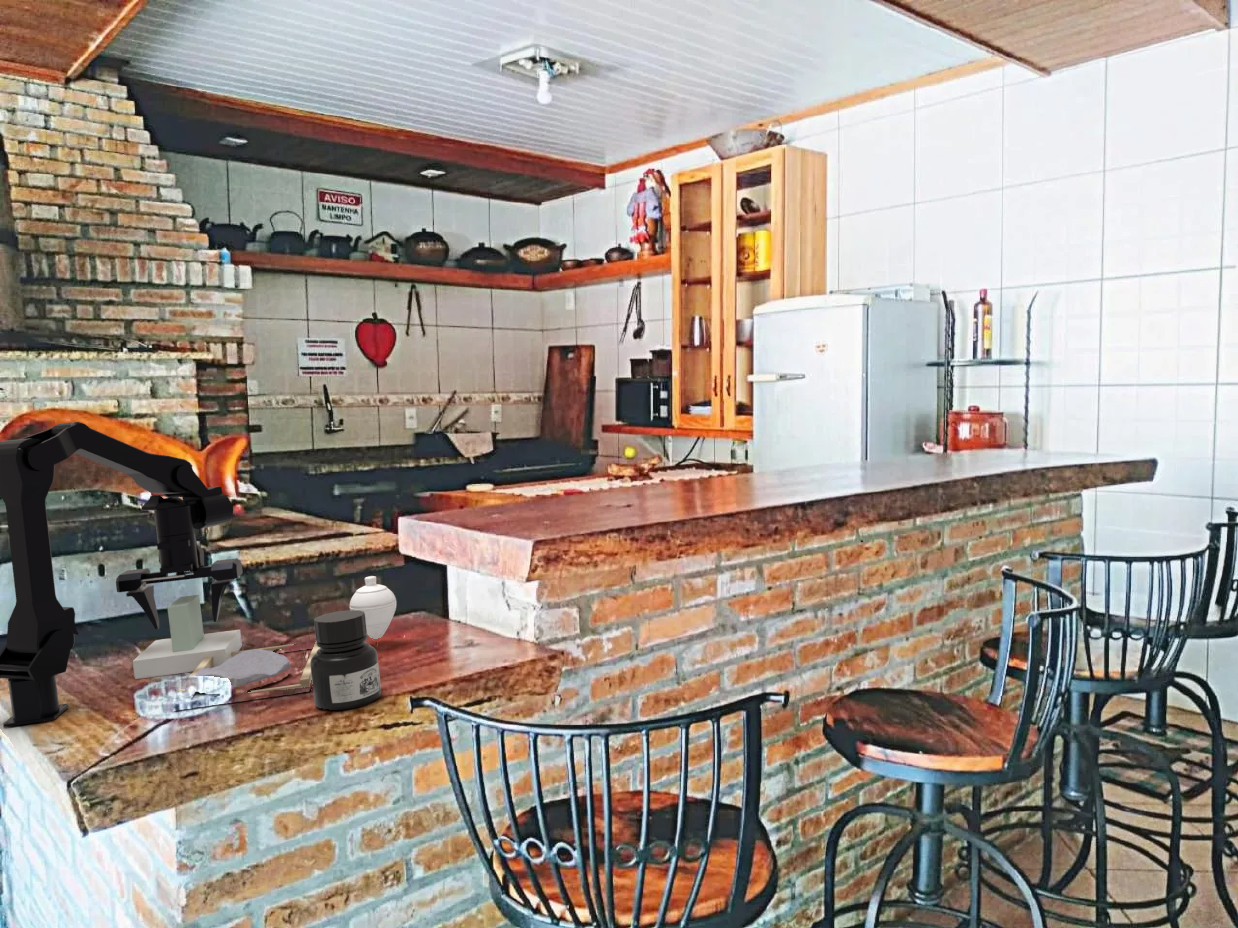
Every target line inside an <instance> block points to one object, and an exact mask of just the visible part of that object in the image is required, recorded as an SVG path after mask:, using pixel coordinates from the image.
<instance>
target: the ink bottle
mask: <svg viewBox="0 0 1238 928" xmlns="http://www.w3.org/2000/svg"><path fill="white" fill-rule="evenodd" d="M313 622H314V623H313V624H314V633H315V641H316V642H317V643H316V644H317V646H318V647H320V649H318V650H317V652H316V654H315V655H314V656H313V657H312V658H311V661H310V666H311V675H312V684H313V686H312V691H313V699H314V700H313V701H314V702H313V703H314V704H315V706H316V707H317V708H318V707H319V709H321V708H323V709H322V710H326V709H329V710H330V711H343V710H344V711H345V710H350V709H355V708H358V707H363V706H364V705H367V704H370V703H372V702H374V701H376V700H378V698H380V697H381V695H382V686H381V675H380V667H379V658H378V657H379V656H378V651H377V649H375V647H374V646H373V645H370V644H369V642H367V640H368V635H367V629H366V619H365V613H364V611H360V610H350V609H349V610H340V611H333V612H329V613H324V614H322V615H318V616H317V617H315V618H314V619H313Z"/></svg>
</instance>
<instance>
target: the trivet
mask: <svg viewBox="0 0 1238 928" xmlns="http://www.w3.org/2000/svg"><path fill="white" fill-rule="evenodd" d="M242 646H243V642H242V635H241V629H235V630H234V629H233V630H227V631H217V632H210V633H204V638H203V639H202V640H201V641H200V642H199V643H198V644H197V645H196V646H195V648H194V649H193V650H187V651H180V652H173V649H172V641H171V637H170V638H164V639H163V638H162V639H155V640H154V641H153V642H152V643H151V644H150V645H148V647H146V648H145V649H144V650H143V651H142V652H141V653H140V654H139V655H138V656H137V657H135V658H134V659H133V660H132V667H133V675H134V680H140V679H146V678H147V679H149V678H154V677H163V676H168V675H169V676H170V675H178V674H185V673H191V672H192V673H193V672H194V670H195V669H196V668H197V667H198V666H199V664H200V663H201V662H202V661H203V660H204V658H207V657H213V662H214V667H217V666H220V665H221V664H223V663H224V662H225V661H226V660H228V659H229V658H231V657H232V656H231V653H232V652H236V651H241V650H240V649H241V648H242Z"/></svg>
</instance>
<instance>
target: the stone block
mask: <svg viewBox="0 0 1238 928" xmlns="http://www.w3.org/2000/svg"><path fill="white" fill-rule="evenodd" d="M255 649H256V650H252V649H247V650H248V651H244V650H243V651H244V652H241V653H239V654H237V655H235V656H234V657H231V658H229V659H228V660H226V661H225V662H224V663H223V664H221V665H220V666H217V667H214V668H203V669H200V670H199V671H198V672H197V674H196V676H214V677H220V678H228V679H229V680H230V682H231V685H232V686H233V687H238V686H241V685H245V684H248V683H251V682H254V681H259V680H262V679H265V678H270V677H274V676H276V675H278V674H280V673H282V672H284V671H286V670H288V669H290V668H291V669H292V667H291V664H290V660H289V658H288V657H286V656H285V655H284V654H278V653H275V652H273V651H267V650H261V649H259V648H255Z"/></svg>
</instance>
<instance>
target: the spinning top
mask: <svg viewBox="0 0 1238 928" xmlns="http://www.w3.org/2000/svg"><path fill="white" fill-rule="evenodd" d="M364 583H365V585H363V586H361V587H360V588H358V589H356V590H355V592H354V594H353V595H352V597H351V599H350V601H349V610H360V611H364V613H365V619H366V629H367V637H369V638H373V639H378V638H381V637H383V636H384V634H385V633H386V631H387V630H388V628H389V627H390V624H391V623H392V622H391V621H392V620H393V618H394V615H395V613H396V610H397V598H396V595H395V594H394V592H393V591H392V590H391V589H389V588H388V586H386V585H383V584H379V583H377V576H374V575H370V576H366V577H364ZM373 639H372V640H373ZM381 639H382V638H381Z"/></svg>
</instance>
